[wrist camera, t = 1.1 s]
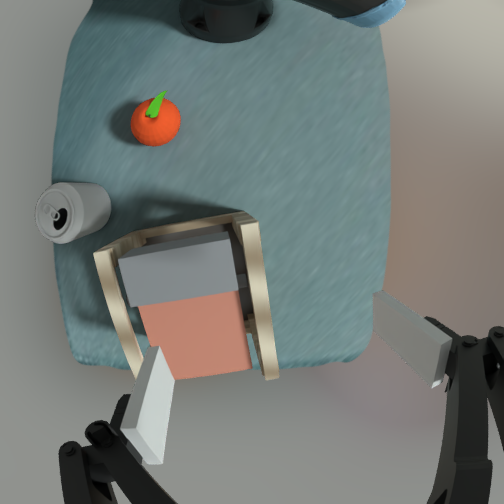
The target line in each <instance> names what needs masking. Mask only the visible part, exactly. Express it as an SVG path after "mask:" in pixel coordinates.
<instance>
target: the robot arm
mask: <svg viewBox="0 0 504 504" xmlns="http://www.w3.org/2000/svg"><path fill="white" fill-rule="evenodd" d="M294 1H297V2H299V3H302V4H305V5H308V6H311V7H313V8H316V9H318V10H321V11H323V12H326V13H328V14H331V15H332V16H333V17H334V18H337V19H340V20H345V21H347V22H349V23H352V24H354V25H356V26H359V27H366V28H372V27H376V26H379V25H381V24H383V23H385V22H387V21H388V20H390V19H391V18H392V17H394V16H395V15H396V14H397V13H398V12H399V11H400V10H401V9H402V8H403V7H404V6H405V4H406V2H405V0H294ZM272 12H273V3H272V0H181V3H180V17H181V21H182V23H183V25H184V27H185V28H186V29H187V30H188V31H189V32H190V33H191V34H193V35H194V36H196V37H198V38H201V39H203V40H206V41H211V42H217V43H233V42H239V41H243V40H247V39H249V38H252V37H254V36H256V35H257V34H259V33H260V32H262V31H263V30H264V29H265V28H266V26H267V25H268V23H269V21H270V18H271V16H272ZM373 331H374V332H375V333H376V334H377V335H378V336H379V337H380V338H381V339H382V340H383V341H384V342H385V343H386V344H387V345H388V346H390V348H391V349H393V350H394V351H395V352H396V353H397V354H398V355H399V356H400V357H401V358H402V359H403V360H404V361H405V362H406V363H407V364H408V365H409V366H410V367H411V368H412V369H413V370H414V371H415V372H416V373H417V374H418V375H419V376H420V377H421V378H422V379H423V380H424V381H425V382H426V383H427V384H428V385H429V386H430V387H431V388H433V387H435V386H437V385H438V384H440V383H442V382H443V378H444V374H447V375H448V376H449V379H448V383H447V386H446V390H445V392H447V404H446V416H445V425H444V433H443V440H442V447H441V453H440V458H439V464H438V469H437V474H436V478H435V482H434V486H433V490H432V493H431V495H430V497H429V499H428V502H427V504H488V501H489V494H490V487H491V479H492V467H493V466H492V461H491V460H488V458H487V454H488V406H487V398H488V400H489V403H490V406H491V409H492V412H493V415H494V418H495V421H496V425H497V428H498V431H499V435H500V439H501V443H502V446H503V451H504V327H500V326H496V327H493V328H491V329H490V330H489V334H488V337H486V338H483V339H477V338H476V337H474V336H469V335H467V336H462V337H461V336H459V335H458V334H456V333H455V332H453V331H452V330H451V329H449V328H447V327H445V326H444V325H443V324H441V323H440V322H439V321H437V320H436V319H434V318H431V317H427V316H426V317H425V318H423V317H421V316H420V315H418V314H417V313H415V312H414V311H412V310H411V309H410V308H408V307H407V306H405V305H404V304H402V303H401V302H400V301H398V300H397V299H395V298H394V297H392V296H391V295H389V294H388V293H386V292H385V291H383V290H382V291H379V292H376V293H373ZM174 382H175V380H174V378H173V376H172V374H171V372H170V369H169V367H168V365H167V362H166V360H165V358H164V355H163V353H162V350H161V348H160V346H154V347H148V348H147V351H146V354H145V356H144V359H143V362H142V365H141V367H140V370H139V373H138V376H137V379H136V381H135V384H134V388H133V390H132V393H131V394H126V395H125V394H124V395H123V396H122V397H121V398H120V400H119V401H118V403H117V406H116V409H115V411H114V415H113V417H112V419H111V422H110V424H109V423H108V422H107V421H103V420H100V421H95V422H93V423H91V424H90V425H89V426H88V427H87V428H86V431H85V437H86V438H87V439H88V440H89V442H90V443H91V444H92V445H90V446H85V447H81V446H80V444H78V443H77V442H75V441H69V442H66V443H64V444H63V445H62V446H61V447H60V449H59V466H60V475H61V483H62V491H63V497H64V502H65V504H118V503H117V500H116V497H115V494H114V491H113V488H112V485H111V482H113V481H116V483H117V484H118V486H119V487H120V488H121V490H122V491H123V493H124V494H125V495H126V497H127V498H128V499H129V501H130V502H131V503H132V504H178V503H176V502H175V501H174V500H173V499H172V498H171V497H170V496H169V494H168V493H167V492H165V490H164V489H163V488H162V487H161V486H160V485H159V484H158V483H157V482H156V481H155V480H154V479H153V478H152V476H151V475H150V474H149V473H148V472H147V471H146V470H145V468H144V467H143V466H142V465H141V463H142V458H143V459H144V460H145V462H146V463H147V464H163V457H164V450H165V441H166V434H167V427H168V420H169V413H170V406H171V400H172V394H173V388H174Z"/></svg>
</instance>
